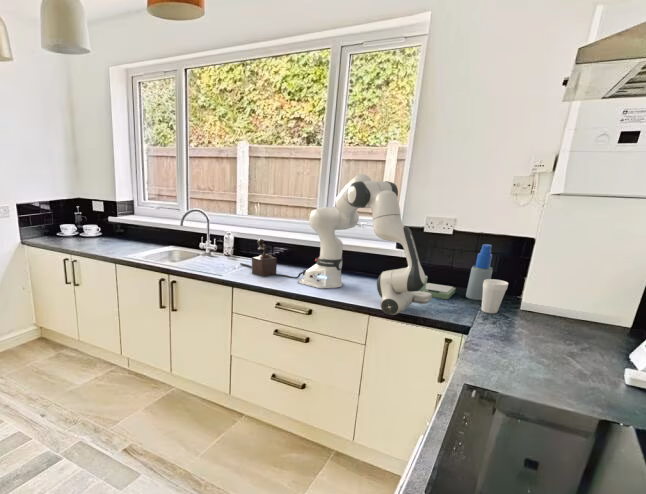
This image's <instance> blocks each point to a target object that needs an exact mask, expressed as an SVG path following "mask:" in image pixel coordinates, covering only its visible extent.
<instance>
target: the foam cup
mask: <svg viewBox="0 0 646 494" xmlns="http://www.w3.org/2000/svg"><path fill="white" fill-rule="evenodd" d="M508 286H509V282H508V281H505V280H501V279H495V278H493V279H492V278H491V279H486V280H484V282H483V294H482V300H481V308H480V309H481V312H484V313H487V314H497V313H498V311H499V309H500V306H501V304H502V301H503V299H504V296H505V294H506V291H507V290H508Z"/></svg>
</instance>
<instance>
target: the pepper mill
mask: <svg viewBox="0 0 646 494" xmlns="http://www.w3.org/2000/svg"><path fill="white" fill-rule="evenodd" d="M256 242H257V244H258V247H257V250H263V253H261V254H259V255H258V256H252V257H251V266H252V268H251V274H252V275H254V276H259V277H261V278H264V277H270V276H272V275H271V274H272V273H274V274H277V266H278V265H277V264H278V258H277V257H274V256H272V255H270V253H269V252H268V253H266V249H267V247H266V246H267V245H266V244H264V243H265V241H264V239H262V238H259V239H258V240H257V241H256Z"/></svg>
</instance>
